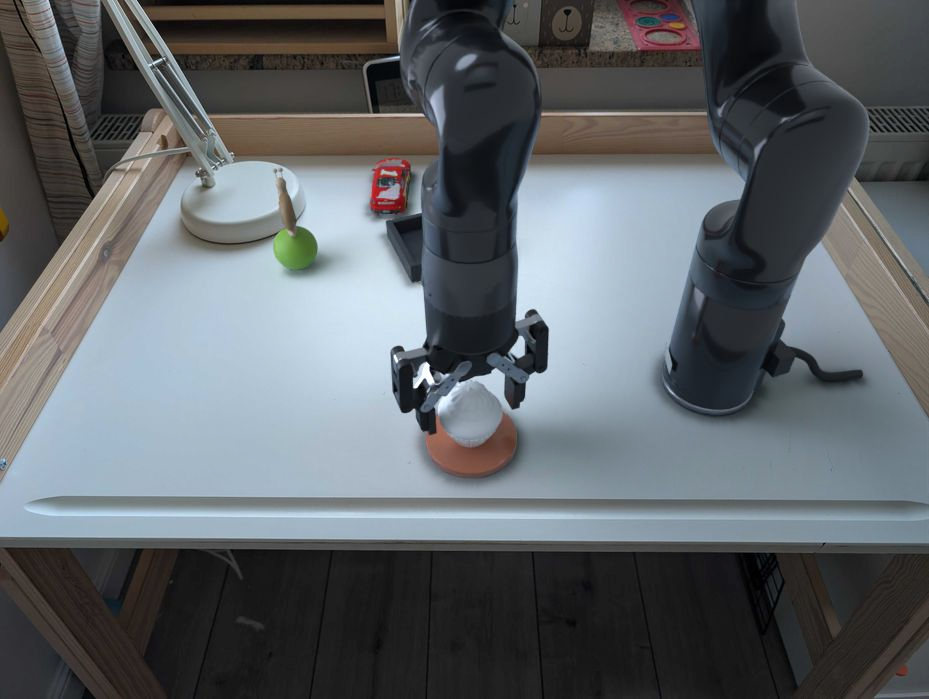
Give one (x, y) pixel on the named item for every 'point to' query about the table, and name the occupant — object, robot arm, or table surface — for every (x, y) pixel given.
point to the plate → (473, 451)
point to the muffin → (470, 413)
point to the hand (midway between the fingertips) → (471, 415)
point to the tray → (408, 243)
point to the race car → (390, 186)
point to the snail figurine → (292, 234)
